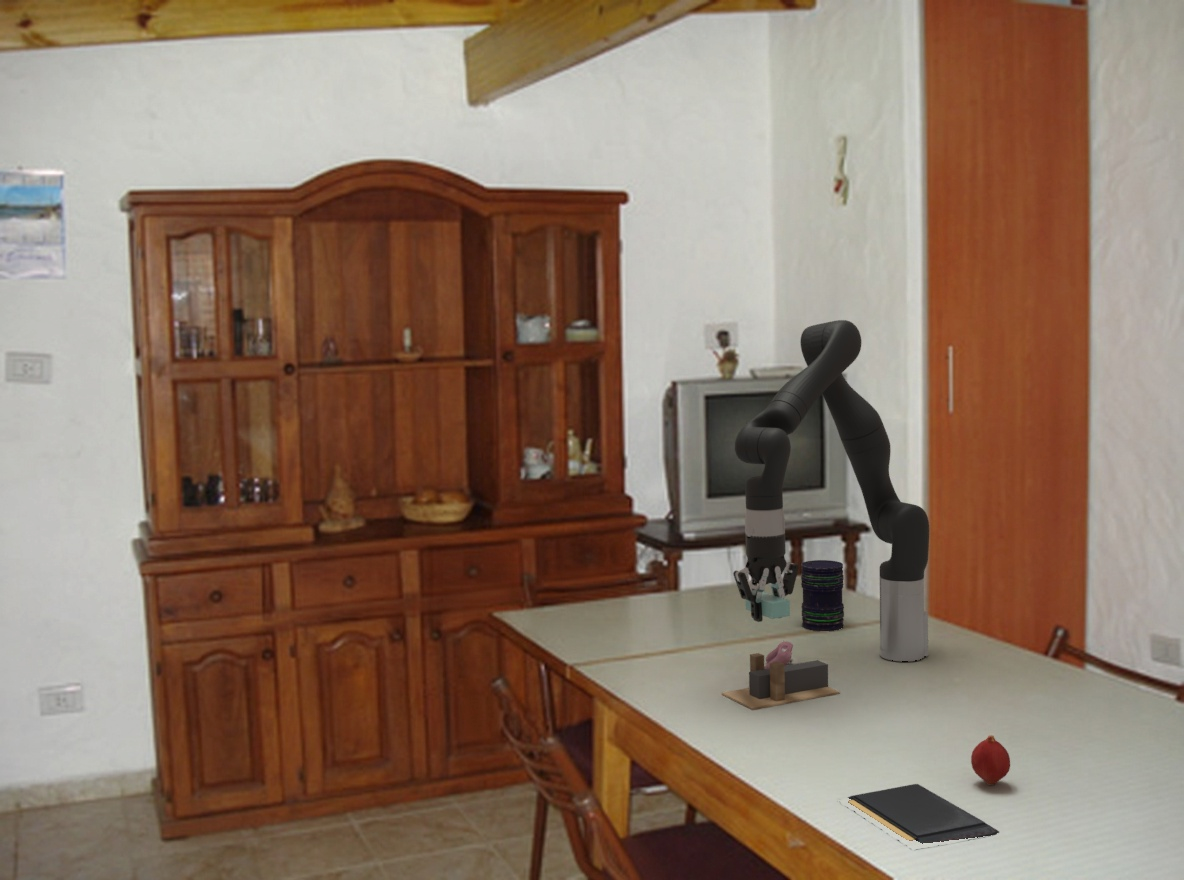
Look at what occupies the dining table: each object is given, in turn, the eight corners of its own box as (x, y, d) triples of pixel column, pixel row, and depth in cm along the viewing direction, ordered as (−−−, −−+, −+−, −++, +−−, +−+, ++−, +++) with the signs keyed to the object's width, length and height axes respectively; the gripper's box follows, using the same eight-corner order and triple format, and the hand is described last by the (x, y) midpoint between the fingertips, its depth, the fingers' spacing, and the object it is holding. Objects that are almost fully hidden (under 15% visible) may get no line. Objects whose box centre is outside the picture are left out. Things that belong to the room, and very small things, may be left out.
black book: (1002, 825, 174) (909, 843, 169) (1002, 838, 174) (909, 856, 169) (921, 777, 193) (835, 791, 188) (921, 788, 193) (835, 803, 188)
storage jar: (850, 624, 293) (849, 562, 292) (835, 633, 285) (834, 569, 284) (811, 619, 299) (810, 558, 297) (794, 628, 290) (794, 566, 289)
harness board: (806, 679, 250) (806, 643, 249) (839, 693, 240) (839, 656, 239) (721, 694, 241) (721, 657, 241) (752, 709, 232) (751, 671, 231)
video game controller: (781, 683, 253) (796, 654, 252) (761, 673, 254) (776, 643, 252) (783, 670, 263) (798, 641, 261) (764, 660, 263) (778, 631, 262)
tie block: (763, 606, 243) (762, 591, 242) (790, 615, 234) (789, 600, 234) (745, 609, 241) (745, 594, 241) (772, 619, 233) (771, 603, 232)
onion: (965, 778, 195) (965, 729, 194) (1000, 776, 195) (1000, 727, 194) (979, 792, 189) (979, 742, 188) (1016, 790, 189) (1016, 739, 188)
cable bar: (817, 682, 246) (817, 660, 246) (828, 686, 243) (827, 664, 243) (749, 694, 240) (749, 671, 239) (759, 699, 237) (758, 676, 236)
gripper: (784, 524, 242) (787, 610, 244) (722, 532, 236) (725, 620, 238) (807, 529, 236) (809, 617, 237) (744, 538, 230) (747, 628, 231)
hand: (767, 618), depth 238 cm, fingers closed on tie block, 4 cm apart
